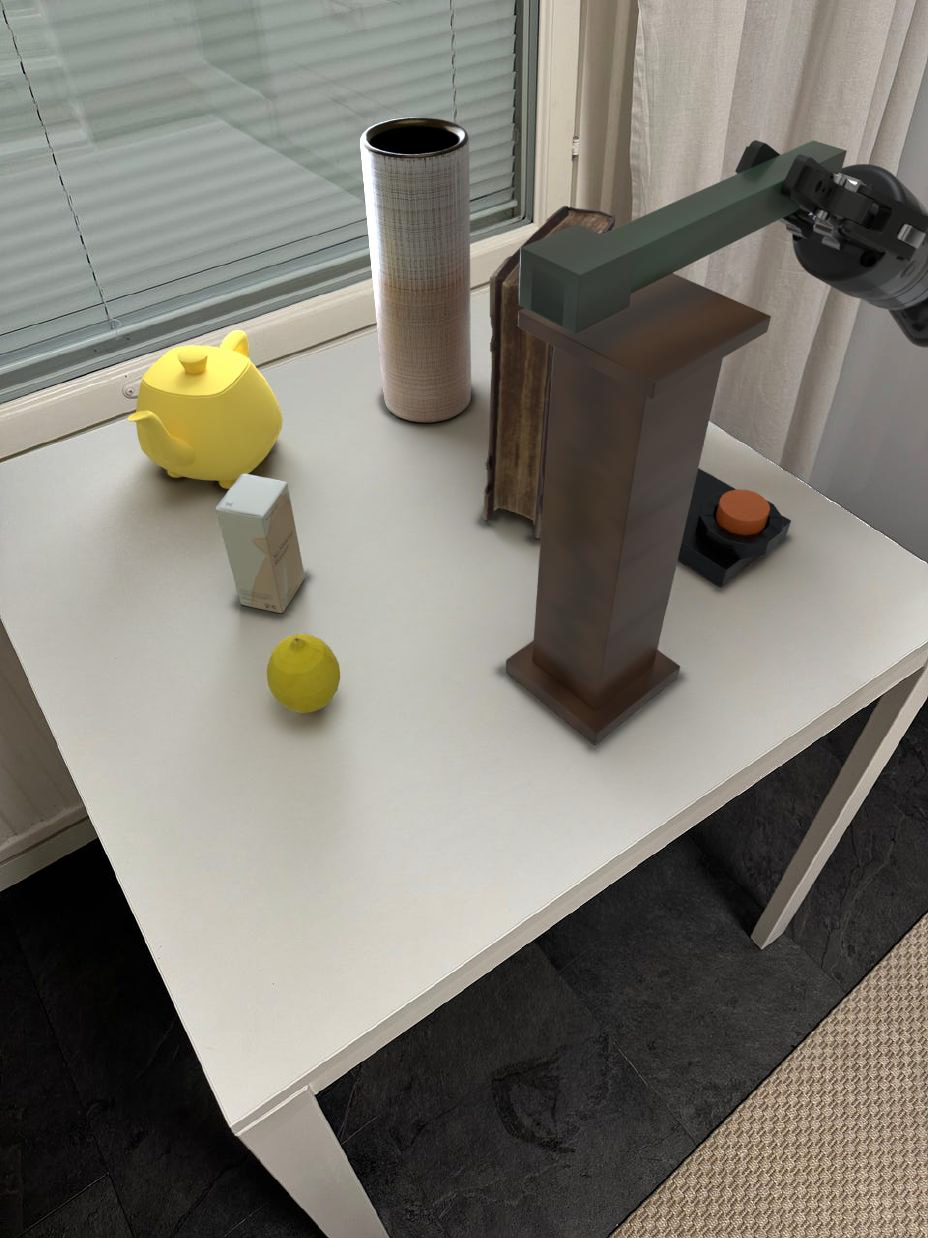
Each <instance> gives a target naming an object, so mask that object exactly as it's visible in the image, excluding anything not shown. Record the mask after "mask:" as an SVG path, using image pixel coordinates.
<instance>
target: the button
mask: <svg viewBox="0 0 928 1238" xmlns="http://www.w3.org/2000/svg"><path fill="white" fill-rule="evenodd" d="M767 501H768V499H766V498H765V497H764V496H762V494H759V493H757V492H755V491H752V490H749V489H737V490H732V491H729V492H726V493H725V494H724V495H723V496H722V497H721V498H720V501H719V505H718V509H717V513H716V520H717V522H718V524H719V525H720V526H721V527H722V528H724V529H726V530H727V531H729V532H731V533H736V534H741V535H752V534H757V533H759V532H760V531H762V530H763V528H764V527H765V524H766V521H767V518H768V514H769V511H770V506H769V503H768V502H767Z"/></svg>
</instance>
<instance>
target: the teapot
mask: <svg viewBox="0 0 928 1238" xmlns="http://www.w3.org/2000/svg"><path fill="white" fill-rule="evenodd" d="M138 390H139V391H138V394H137V401H136V407H135V412H134V413H132V414H130V415H129V416H128V417H127V418H126V419H127V421H128V422H133V423H135V425H136V434H137V438H138V439H137V440H138V442H139V447H140V448H141V451H142V452H143V453H144V454H145V456H147V458H148V459H149V460H151V461H152V462H153V463H155V464H156V465H158V466H159V467H161V468H162V469H165V470H166V471H167V475H168V476H169V477H172V478H183V477H185V478H188V479H193V480H202V481H218V484H219V486H220V487H221V488H223V489H227V490H230V488H231V487H232V486H233V485H234V483H235V482H236V481H237V480H238V478H239V477H240V476H241V475H242V474H250V473H251V472H252V471H254V470H255V469H256V468H257V467H258V466H259V465H260V464H261V463H262V462H263V461H264V460H265V458H266V457H267V456H268V454H269V453H270V451H272V448H273V447H274V445H275V443H276V442H277V440H278V437H279V435H280V433H281V430H282V428H283V422H284V421H283V420H284V419H283V415H282V411H281V407H280V405H279V402H278V400H277V397H276V395H275V392H274V391H273V389H272V387H271V385H270V384H269V382H268V381H267V380H266V379H265V376H263V374H262V373H261V371H260V370H259V369H258V368H257V367H256V365H255V363H253V362H252V361H251V359H250V342H249V338H248V335H247V333H246V332H245V331H243V330H240V329H235V330H233V331H230V332H229V333H228V334H227V335H226V336H225V337H224V339H223V340H222V342H221V344H220V345H219V346H213V345H201V344H200V345H199V344H189V345H181V346H177V347H173V348H172V349H170V350H168V351H166V352H165V353H164V354H163V355H162V356H161V357H159V358H158V359H157V360H156V361H155V362H154V363H153V364H152V365H151V366H150V367H149V368H148V370H146V372H145V373H144V374H143V376H142V378H141V381H140V384H139V389H138Z"/></svg>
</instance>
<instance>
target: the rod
mask: <svg viewBox="0 0 928 1238" xmlns="http://www.w3.org/2000/svg"><path fill="white" fill-rule="evenodd" d="M780 154H781V153H780ZM799 154H802V155H805V156H808V157H811V158H813V159H814V160H815V161H816V162H818V163H819V164H820V165H821V166H822V167H824V168H825V169H826V170H827V171H828V172H830V173H834V174H836V173H841V170H842V168H844V163H845V160H846V155H847V149H843V148H840V147H838V146H837V147H836V146H833V145H830V144H826V143H823V142H820V141H816V140H814V139H813V140H810V141H808V142H806V143H804V144H802V145H799V146H797V147H795V148H793V149H790V150H788V151H786V152H783V153H782V154H781V155H779V156H777V157H774V158H772V159H770V160H768V161H765V162H763V163H761V164H759V165H756V166H754V167H752V168H750V169H747V170H745V171H743V172H741V173H739V174H737V173H736V174H733V175H732V176H729V177H727V178H724V179H723V180H721V181H719V182H716V183H714V184H712V185H710V186H707V187H705V188H703V189H701V190H698V191H696V192H693V193H692V194H689V195H687V196H685V197H683V198H680V199H678V200H676V201H674V202H671V203H669V204H667V205H665V206H662V207H660V208H658V209H655V210H653V211H651V212H649V213H647V214H645V215H642V216H640V217H637V218H635V219H633V220H631V221H629V222H626V223H624V224H622V225H619V226H618V227H616V228H615V227H614V229H613V230H611V231H609V232H606V233H604V234H600V233H597V232H595V231H592V230H590V229H588V228H585V227H583V226H581V225H578V224H575V225H573V226H571V227H568V228H566V229H564V230H561V231H559V232H557V233H554V234H552V235H550V236H547V237H545V238H543V239H540V240H538V241H536V242H533V243H531V244H529V245H527V246H524V247H522V248H521V254H520V287H519V305H520V306H522V307H524V308H526V309H528V310H529V311H531V312H533V313H535V314H537V315H539V316H541V317H543V318H545V319H547V320H549V321H551V322H553V323H555V324H557V325H559V326H561V327H563V328H565V329H567V330H569V331H570V332H572V333H574V334H576V333H578V332H580V331H582V330H584V329H586V328H588V327H590V326H592V325H594V324H596V323H598V322H600V321H602V320H604V319H606V318H608V317H610V316H612V315H614V314H616V313H618V312H619V311H621V310H623V309H625V308H627V307H629V304H630V296H631V294H632V293H634V292H636V291H638V290H640V289H642V288H644V287H646V286H648V285H650V284H652V283H654V282H656V281H658V280H660V279H662V278H664V277H666V276H668V275H670V274H672V273H673V274H675V272H678V271H679V270H682V269H683V268H686V267H687V266H690V265H692V264H694V263H695V262H697V261H699V260H701V259H704V258H705V257H708V256H709V255H711V254H713V253H716V252H718V251H719V250H722V249H724V248H726V247H727V246H730V245H731V244H733V243H735V242H737V241H739V240H742V239H743V238H745V237H747V236H750V235H752V234H753V233H755V232H757V231H759V230H762V229H764V228H766V227H767V226H769V225H772V224H773V223H775V222H777V221H778V220H779V219H781V218H783V217H785V216H787V215H789V214H791V213H793V212H795V211H797V210H799V209H801V208H800V207H798V206H797V205H795V204H794V203H792V202H791V201H790V200H788V199H787V198H785V197H784V196H782V194H781V188H782V185H783V183H784V180H785V178H786V176H787V174H788V172H789V170H790V168H791V166H792V163H793V161H794V160H795V158H796V157H797V156H798V155H799Z"/></svg>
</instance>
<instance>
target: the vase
mask: <svg viewBox="0 0 928 1238" xmlns="http://www.w3.org/2000/svg"><path fill="white" fill-rule="evenodd" d="M360 155H361V165H362V176H363V185H364V186H363V187H364V197H365V198H364V199H365V210H366V219H367V220H366V221H367V231H368V240H369V250H370V263H371V273H372V284H373V296H374V306H375V317H376V328H377V330H376V331H377V337H378V348H379V349H378V351H379V360H380V361H379V362H380V371H381V372H380V373H381V382H382V383H381V384H382V392H383V398H384V404H385V406H386V408H387V409H388V410H389V411H390V412H391V413H392V414H393V415H394V416H395V417H398V418H400V419H403V420H404V421H405V420H406V421H408V422H415V423H422V424H423V423H424V424H425V423H426V424H427V423H428V424H429V423H438V422H442V421H446V420H449V419H452V418H454V417H456V416H458V415H460V414H461V413H463V412H464V410H465V409H466V408H467V407H468V406H469V404H470V402H471V400H472V399H471V397H472V332H471V331H472V327H471V325H472V323H471V321H472V320H471V319H472V314H471V307H472V306H471V203H470V202H471V199H470V198H471V197H470V195H471V194H470V187H471V186H470V136H469V134H468V132H467V130H466V129H465V128H464V127H462V125H459V124H458V123H456V122H453V121H450V120H446V119H441V118H435V117H425V116H424V117H423V116H418V117H417V116H416V117H401V118H394V119H390V120H386V121H382V122H379V123H377V124H374V125H372V126H370V127H368V128H367V129H366V130H365V131H364V132H363V133H362V135H361V137H360Z"/></svg>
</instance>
